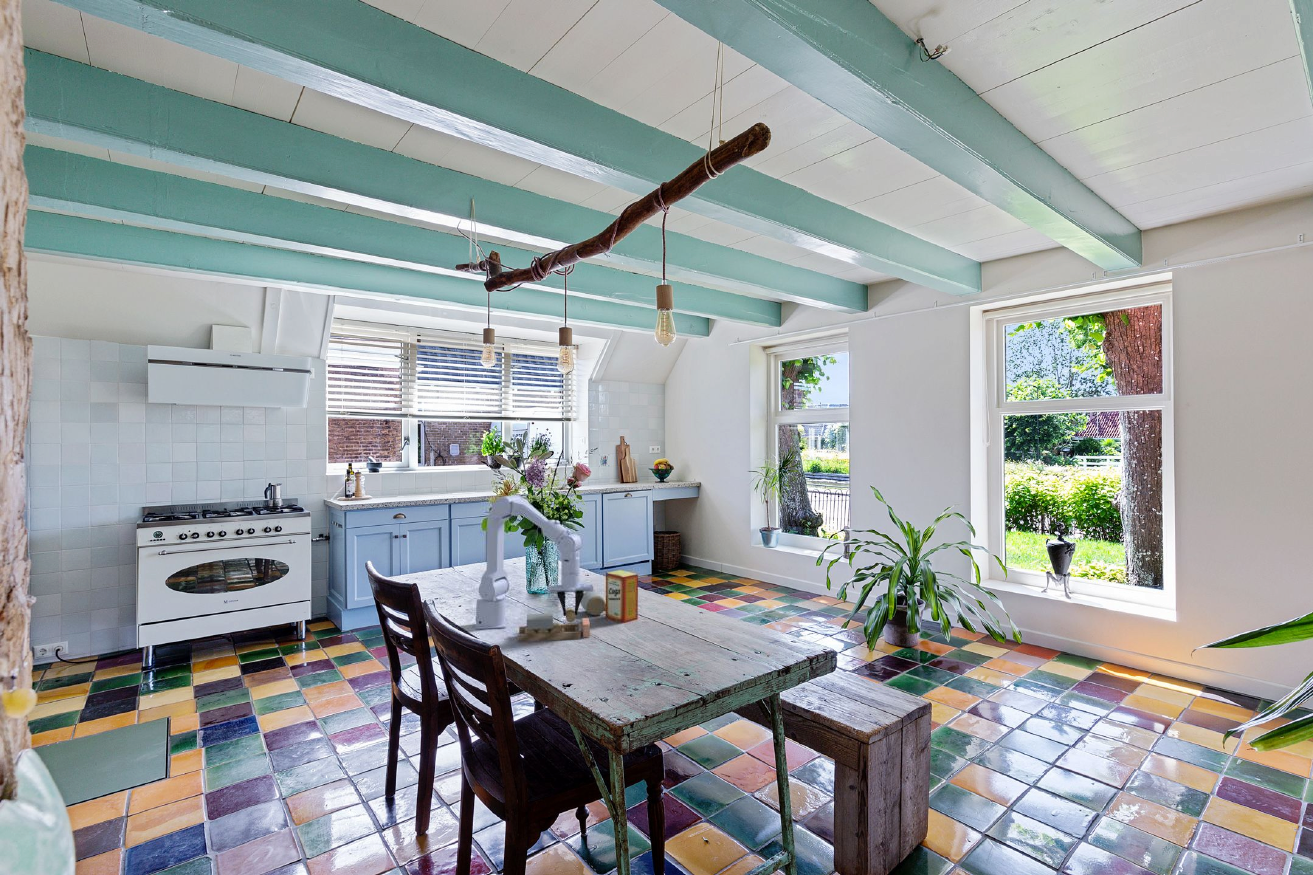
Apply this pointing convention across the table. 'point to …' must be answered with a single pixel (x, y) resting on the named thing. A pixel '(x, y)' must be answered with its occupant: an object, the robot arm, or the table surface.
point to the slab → (539, 621)
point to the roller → (570, 614)
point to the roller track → (545, 636)
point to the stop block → (585, 627)
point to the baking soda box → (622, 596)
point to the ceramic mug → (593, 603)
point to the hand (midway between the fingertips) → (570, 614)
